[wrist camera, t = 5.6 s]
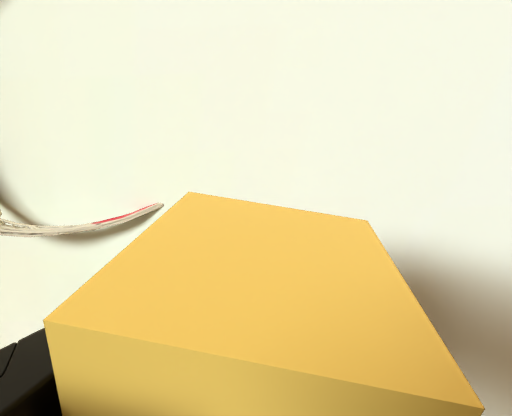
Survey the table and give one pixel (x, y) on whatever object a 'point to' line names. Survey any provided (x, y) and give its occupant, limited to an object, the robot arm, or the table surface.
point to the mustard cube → (251, 323)
